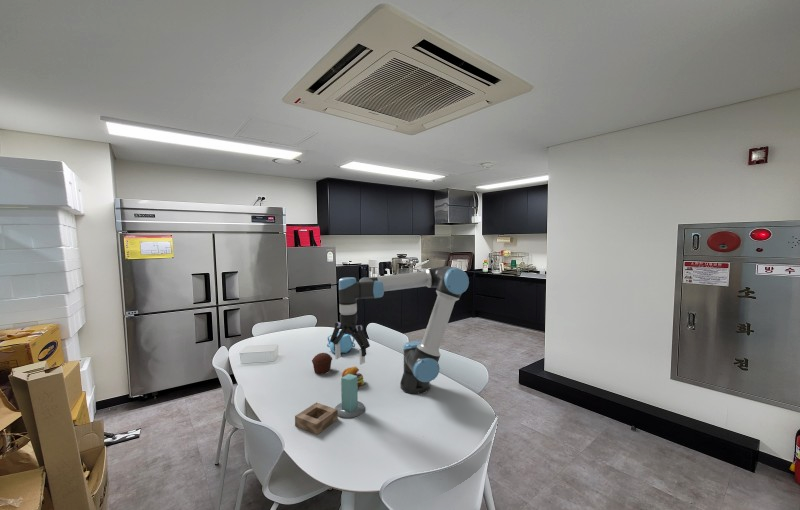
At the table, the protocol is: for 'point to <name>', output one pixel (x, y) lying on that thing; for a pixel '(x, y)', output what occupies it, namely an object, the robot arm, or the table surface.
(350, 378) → the post
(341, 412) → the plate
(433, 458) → the table surface
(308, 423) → the holder
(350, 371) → the cheeseburger
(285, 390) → the table surface
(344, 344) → the decorative pot
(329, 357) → the muffin
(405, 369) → the robot arm
